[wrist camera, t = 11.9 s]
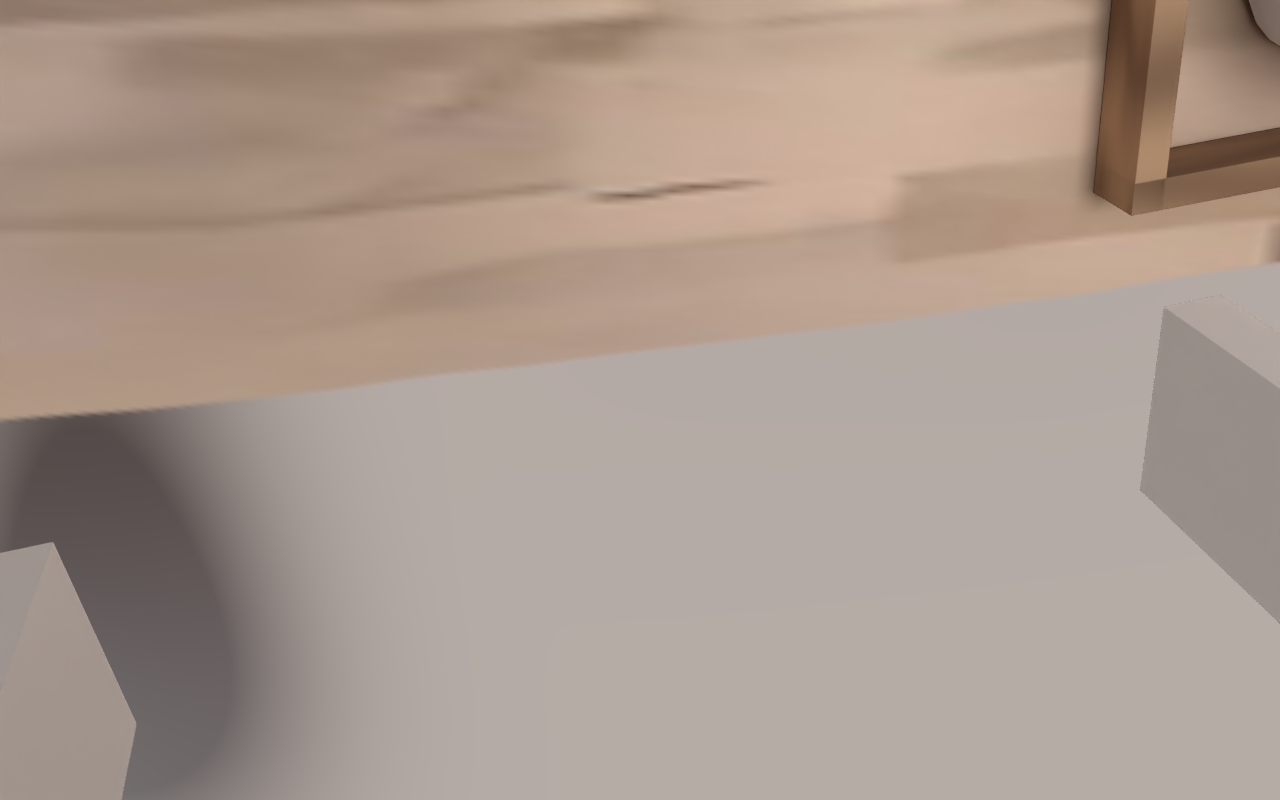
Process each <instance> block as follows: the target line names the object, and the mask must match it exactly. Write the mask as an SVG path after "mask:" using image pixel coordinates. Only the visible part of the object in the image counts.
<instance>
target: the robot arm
mask: <svg viewBox="0 0 1280 800" xmlns="http://www.w3.org/2000/svg"><path fill="white" fill-rule="evenodd" d="M1140 490H1141V491H1142V492H1143V493H1144V494H1145V495H1146V496H1147V497H1148V498H1149V499H1150V500H1151V501H1152V502H1153V503H1154V504H1155V505H1156V506H1157V507H1158V508H1159V509H1160V510H1161V511H1163V512H1164V513H1165V514H1166V515H1167V516H1168V517H1169V518H1170V519H1171V520H1172V521H1173V522H1174V523H1175V524H1176V525H1177V526H1178V527H1179V528H1180V529H1181V530H1183V532H1185V533H1186V534H1187V535H1188V536H1189V537H1190V538H1191V539H1192V540H1193V541H1194V542H1195V543H1196V544H1197V545H1198V546H1199V547H1200V548H1201V549H1202V550H1203V551H1204V552H1205V553H1207V554H1208V555H1209V556H1210V557H1211V558H1212V559H1213V560H1214V561H1215V562H1216V563H1217V564H1218V565H1219V566H1220V567H1221V568H1222V569H1223V570H1224V571H1225V572H1226V573H1227V574H1229V575H1230V576H1231V577H1232V578H1233V579H1234V580H1235V581H1236V582H1237V583H1238V584H1239V585H1240V586H1241V587H1242V588H1243V589H1244V590H1245V591H1246V592H1247V593H1248V594H1249V595H1251V597H1253V598H1254V599H1255V600H1256V601H1257V602H1258V603H1259V604H1260V605H1261V606H1262V607H1263V608H1264V609H1265V610H1266V611H1267V612H1268V613H1269V614H1270V615H1271V616H1272V617H1274V618H1275V619H1276V620H1277V621H1278V622H1279V623H1280V333H1279V332H1278V331H1276V330H1275V329H1273V328H1271V327H1270V326H1268V325H1267V324H1265V323H1263V322H1262V321H1261V320H1259V319H1257V318H1256V317H1254V316H1253V315H1251V314H1250V313H1248V312H1247V311H1245V310H1244V309H1242V308H1240V307H1239V306H1237V305H1236V304H1234V303H1233V302H1231V301H1230V300H1228V299H1227V298H1225V297H1223V296H1222V295H1217V296H1212V297H1207V298H1203V299H1198V300H1193V301H1189V302H1184V303H1179V304H1174V305H1170V306H1165V307H1164V310H1163V318H1162V325H1161V333H1160V341H1159V348H1158V356H1157V364H1156V371H1155V379H1154V386H1153V394H1152V402H1151V410H1150V417H1149V425H1148V432H1147V440H1146V448H1145V456H1144V463H1143V471H1142V479H1141V486H1140ZM135 729H136V722H135V720H134V717H133V716H132V713H131V711H130V709H129V706H128V704H127V703H126V700H125V698H124V696H123V693H122V692H121V689H120V687H119V685H118V683H117V680H116V678H115V676H114V674H113V672H112V670H111V667H110V665H109V663H108V661H107V659H106V656H105V655H104V652H103V650H102V648H101V646H100V644H99V641H98V639H97V637H96V635H95V632H94V631H93V628H92V626H91V624H90V622H89V619H88V617H87V615H86V613H85V611H84V609H83V606H82V605H81V602H80V600H79V598H78V596H77V593H76V591H75V589H74V587H73V585H72V583H71V581H70V578H69V576H68V574H67V572H66V569H65V567H64V565H63V563H62V561H61V559H60V556H59V554H58V552H57V550H56V548H55V545H54V543H53V542H51V543H46V544H41V545H37V546H32V547H27V548H22V549H17V550H13V551H8V552H3V553H0V800H121V798H122V793H123V788H124V784H125V779H126V773H127V769H128V764H129V759H130V753H131V749H132V744H133V738H134V734H135Z"/></svg>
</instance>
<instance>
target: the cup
mask: <svg viewBox="0 0 1280 800" xmlns="http://www.w3.org/2000/svg"><path fill="white" fill-rule="evenodd" d="M1249 3H1250V6H1251V9H1252V12H1253V15H1254V18H1255V21H1256V23H1257V24H1258V26H1259V27H1260V28H1261V30H1262V31H1263V32H1264V34H1265V35H1266V36H1267V37H1268V39H1269V40H1271V41H1273V42H1274V43H1276V44H1278V45H1279V46H1280V0H1249Z"/></svg>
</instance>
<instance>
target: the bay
mask: <svg viewBox="0 0 1280 800" xmlns="http://www.w3.org/2000/svg"><path fill="white" fill-rule="evenodd" d="M1188 4H1189V0H1112V8H1111V18H1110V29H1109V39H1108V49H1107V60H1106V70H1105V81H1104V91H1103V102H1102V112H1101V122H1100V133H1099V143H1098V154H1097V164H1096V174H1095V185H1094V193H1095V194H1097V195H1099V196H1100V197H1102V198H1103V199H1105V200H1107V201H1108V202H1110V203H1112V204H1113V205H1115V206H1116V207H1118V208H1120V209H1121V210H1123V211H1125V212H1126V213H1128V214H1129V215H1131V216H1133V215H1138V214H1143V213H1148V212H1154V211H1159V210H1164V209H1169V208H1174V207H1179V206H1185V205H1190V204H1195V203H1200V202H1205V201H1210V200H1215V199H1221V198H1226V197H1231V196H1236V195H1241V194H1246V193H1251V192H1257V191H1262V190H1267V189H1272V188H1277V187H1280V128H1276V129H1271V130H1265V131H1260V132H1255V133H1249V134H1244V135H1239V136H1233V137H1228V138H1223V139H1217V140H1212V141H1207V142H1201V143H1196V144H1190V145H1185V146H1180V147H1174V148H1170V144H1171V136H1172V129H1173V121H1174V113H1175V105H1176V97H1177V90H1178V82H1179V74H1180V66H1181V58H1182V50H1183V43H1184V35H1185V27H1186V19H1187V11H1188Z"/></svg>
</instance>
